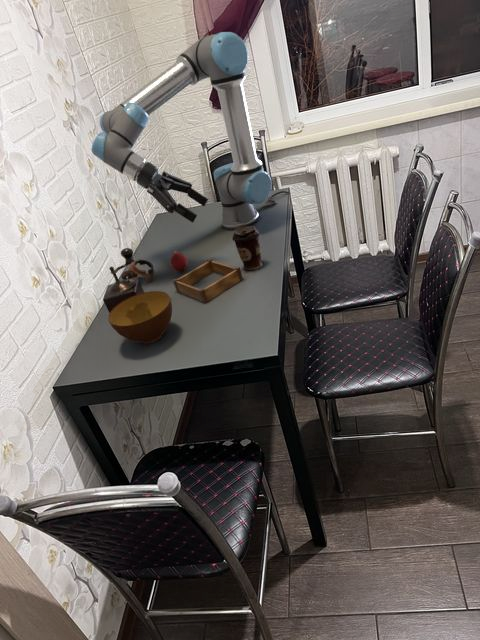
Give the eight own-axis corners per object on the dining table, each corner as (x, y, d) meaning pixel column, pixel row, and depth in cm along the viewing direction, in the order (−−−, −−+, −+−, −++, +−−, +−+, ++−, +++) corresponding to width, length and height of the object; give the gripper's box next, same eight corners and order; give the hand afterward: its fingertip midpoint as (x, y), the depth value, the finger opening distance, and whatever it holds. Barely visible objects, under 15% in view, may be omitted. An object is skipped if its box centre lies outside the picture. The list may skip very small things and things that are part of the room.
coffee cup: (251, 274, 153) (241, 237, 146) (235, 269, 159) (225, 233, 152) (270, 262, 157) (262, 226, 150) (254, 258, 163) (245, 222, 155)
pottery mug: (141, 273, 175) (144, 255, 170) (157, 288, 172) (161, 269, 166) (114, 281, 167) (116, 262, 161) (130, 297, 163) (133, 277, 158)
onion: (187, 274, 164) (179, 254, 160) (172, 276, 166) (164, 256, 161) (192, 267, 169) (185, 246, 164) (177, 268, 170) (170, 248, 166)
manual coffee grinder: (148, 316, 145) (126, 264, 135) (114, 325, 146) (89, 274, 135) (152, 293, 158) (132, 244, 148) (120, 301, 158) (98, 253, 148)
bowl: (170, 353, 126) (157, 322, 120) (112, 358, 130) (97, 328, 125) (189, 317, 139) (178, 288, 134) (136, 322, 144) (123, 294, 138)
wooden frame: (213, 270, 162) (210, 258, 160) (243, 279, 152) (239, 267, 149) (176, 291, 155) (172, 280, 153) (205, 303, 144) (201, 291, 142)
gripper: (150, 169, 157) (205, 205, 162) (121, 195, 138) (184, 235, 143) (159, 150, 153) (215, 187, 158) (130, 174, 133) (195, 216, 138)
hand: (201, 210), depth 150 cm, fingers open, 13 cm apart
